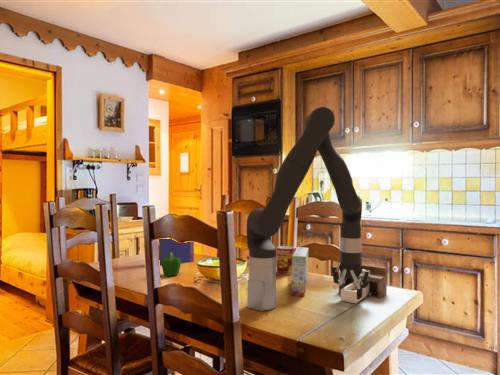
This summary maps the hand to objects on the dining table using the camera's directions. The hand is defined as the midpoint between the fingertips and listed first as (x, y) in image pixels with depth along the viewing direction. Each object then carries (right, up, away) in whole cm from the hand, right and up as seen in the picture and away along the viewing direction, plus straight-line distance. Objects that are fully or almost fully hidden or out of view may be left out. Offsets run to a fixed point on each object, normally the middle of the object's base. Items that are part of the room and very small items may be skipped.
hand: (350, 297), depth 136 cm
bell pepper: (-71, -1, +37) cm, 80 cm away
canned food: (-19, -1, +42) cm, 46 cm away
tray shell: (+3, -1, +4) cm, 5 cm away
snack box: (-16, -1, +16) cm, 23 cm away
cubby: (+7, -1, +11) cm, 13 cm away
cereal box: (-74, 0, +63) cm, 98 cm away
